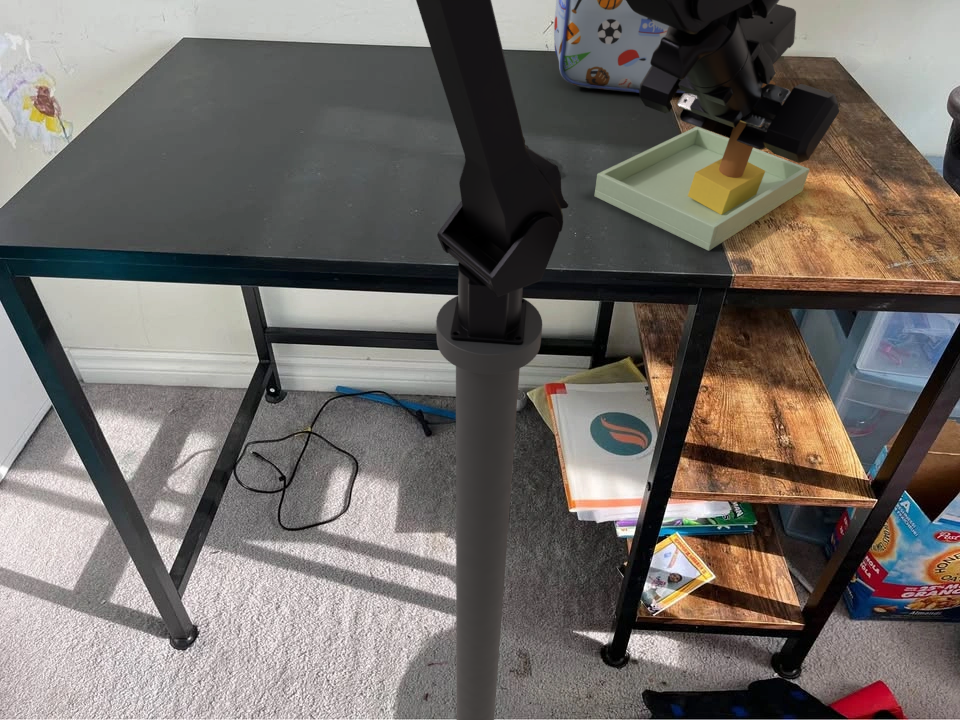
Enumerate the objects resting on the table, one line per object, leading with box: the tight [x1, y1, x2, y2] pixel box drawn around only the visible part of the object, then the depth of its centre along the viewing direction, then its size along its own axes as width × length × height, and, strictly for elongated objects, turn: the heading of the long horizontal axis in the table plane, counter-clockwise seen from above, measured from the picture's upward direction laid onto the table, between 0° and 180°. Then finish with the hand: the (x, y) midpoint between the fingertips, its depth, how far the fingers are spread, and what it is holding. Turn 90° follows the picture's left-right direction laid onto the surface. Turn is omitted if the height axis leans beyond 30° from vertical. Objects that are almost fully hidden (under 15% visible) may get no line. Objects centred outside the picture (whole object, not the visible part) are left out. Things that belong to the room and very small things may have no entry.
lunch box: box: [553, 0, 685, 94], centre depth 103 cm, size 28×10×22 cm, turn 89°
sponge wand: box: [688, 80, 777, 215], centre depth 79 cm, size 7×4×13 cm, turn 133°
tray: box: [593, 126, 810, 251], centre depth 85 cm, size 19×15×3 cm
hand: (749, 140), depth 80 cm, fingers closed on sponge wand, 2 cm apart
